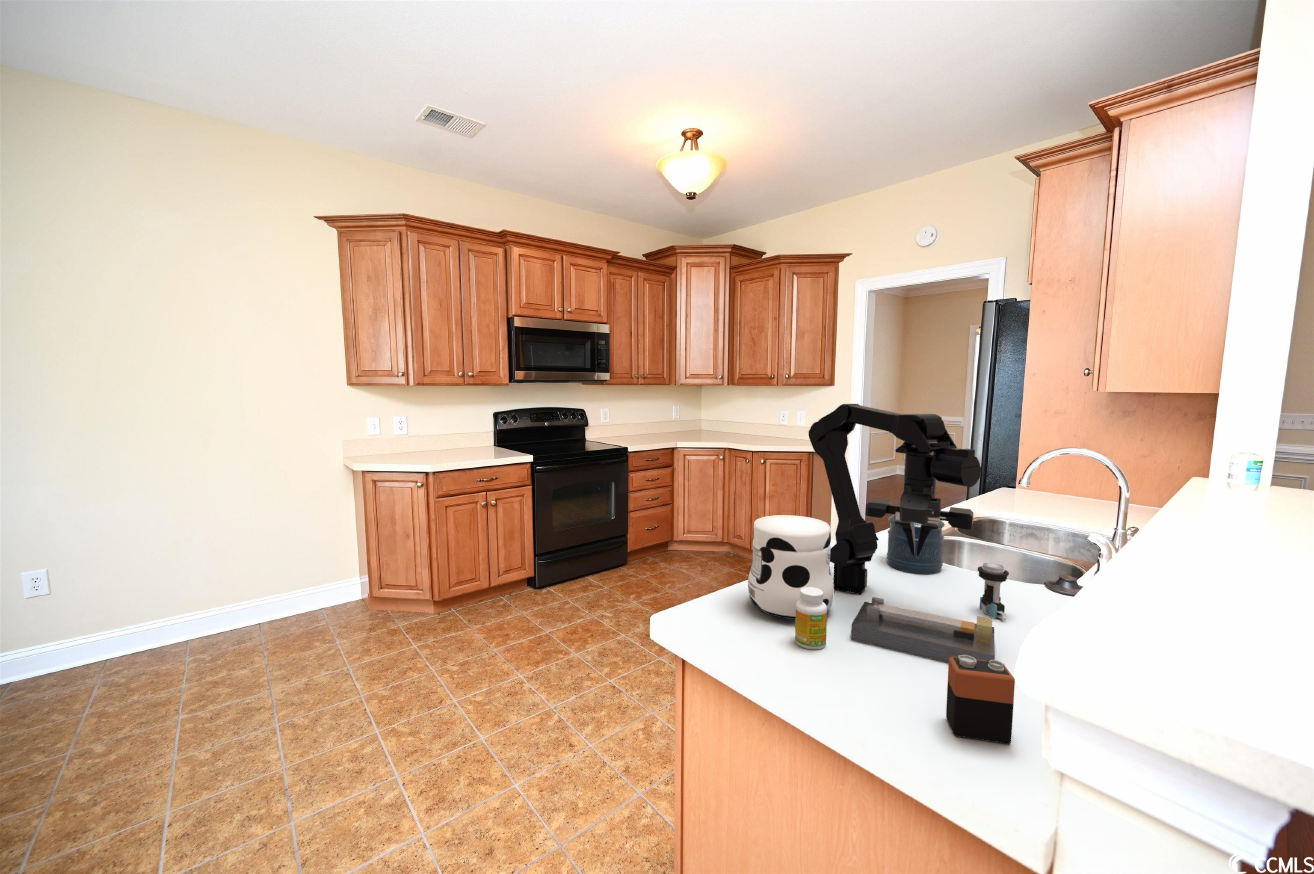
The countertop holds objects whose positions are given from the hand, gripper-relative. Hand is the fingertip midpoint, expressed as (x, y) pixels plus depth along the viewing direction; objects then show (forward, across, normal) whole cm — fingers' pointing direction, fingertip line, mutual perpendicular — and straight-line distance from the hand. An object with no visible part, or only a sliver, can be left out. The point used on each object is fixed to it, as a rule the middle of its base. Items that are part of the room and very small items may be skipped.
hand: (915, 555), depth 106 cm
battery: (+12, +12, -35) cm, 39 cm away
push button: (+13, +14, +9) cm, 21 cm away
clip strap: (+9, +3, -11) cm, 14 cm away
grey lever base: (+12, +3, -11) cm, 17 cm away
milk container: (+13, -22, -10) cm, 27 cm away
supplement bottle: (+13, -14, -22) cm, 29 cm away
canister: (+13, -4, +33) cm, 35 cm away
